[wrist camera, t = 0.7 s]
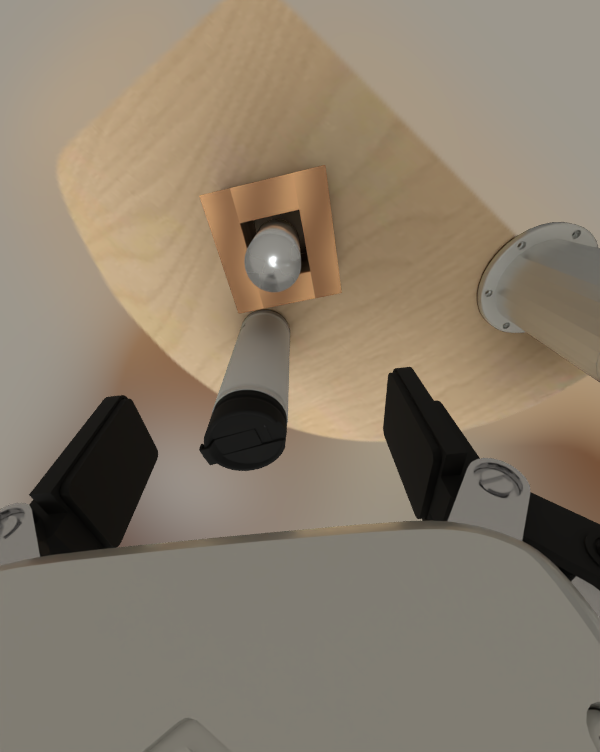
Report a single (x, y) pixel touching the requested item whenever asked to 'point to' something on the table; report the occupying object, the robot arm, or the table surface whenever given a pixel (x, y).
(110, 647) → the robot arm
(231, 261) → the hole block
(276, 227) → the peg
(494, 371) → the table surface
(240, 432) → the travel mug
